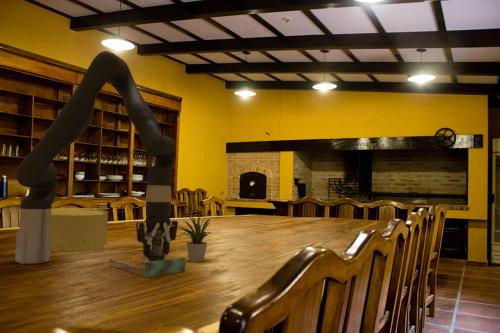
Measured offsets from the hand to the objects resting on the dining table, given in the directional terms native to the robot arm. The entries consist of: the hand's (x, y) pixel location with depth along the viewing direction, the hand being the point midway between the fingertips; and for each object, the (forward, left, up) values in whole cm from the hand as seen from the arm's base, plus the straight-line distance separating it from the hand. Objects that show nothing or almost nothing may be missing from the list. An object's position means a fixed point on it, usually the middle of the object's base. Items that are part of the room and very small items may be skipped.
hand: (156, 255), depth 128 cm
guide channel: (0, +6, -5) cm, 8 cm away
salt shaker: (0, 0, -3) cm, 3 cm away
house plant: (+22, +7, -5) cm, 24 cm away
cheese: (+2, +60, -5) cm, 60 cm away
